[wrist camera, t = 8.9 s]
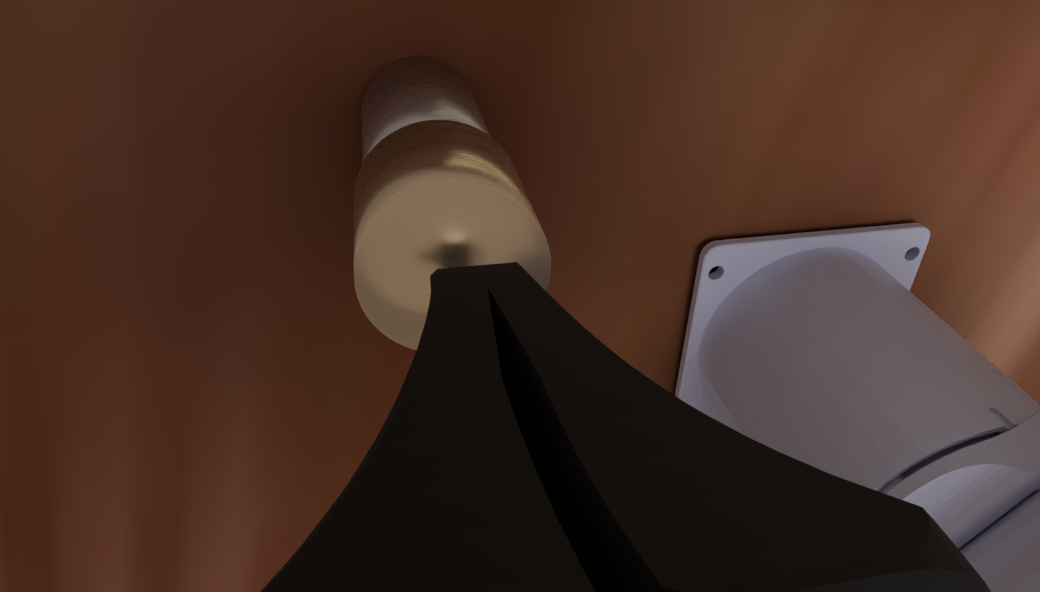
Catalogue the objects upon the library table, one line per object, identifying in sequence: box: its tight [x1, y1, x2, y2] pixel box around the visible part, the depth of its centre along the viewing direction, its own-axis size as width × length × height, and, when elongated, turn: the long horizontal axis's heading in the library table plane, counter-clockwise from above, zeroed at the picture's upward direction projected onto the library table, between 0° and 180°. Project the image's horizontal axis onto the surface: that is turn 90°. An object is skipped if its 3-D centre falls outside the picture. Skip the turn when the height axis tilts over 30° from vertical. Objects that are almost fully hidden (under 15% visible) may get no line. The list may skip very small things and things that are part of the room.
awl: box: [354, 57, 551, 350], centre depth 16 cm, size 3×3×8 cm
